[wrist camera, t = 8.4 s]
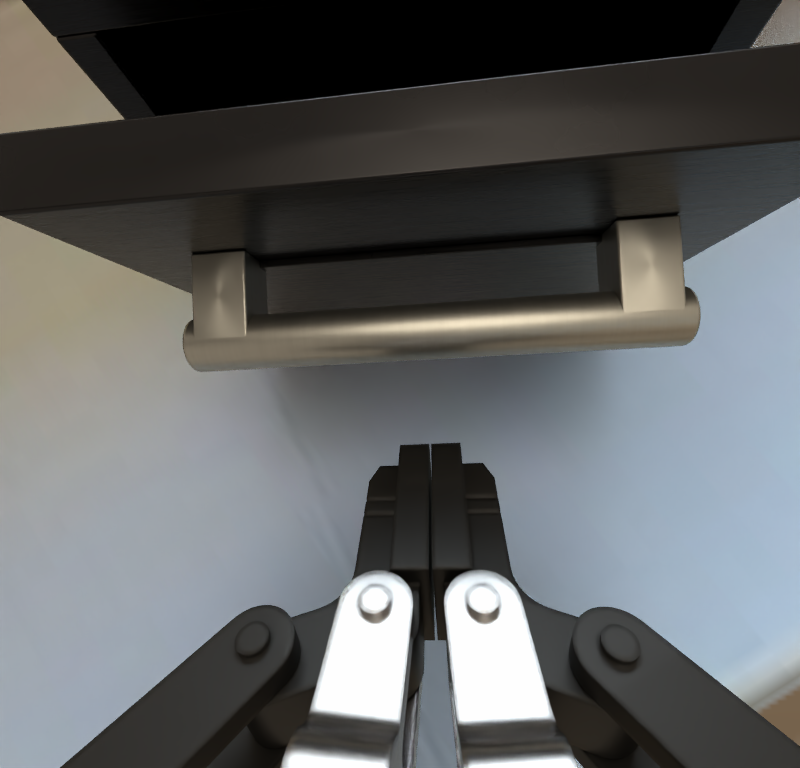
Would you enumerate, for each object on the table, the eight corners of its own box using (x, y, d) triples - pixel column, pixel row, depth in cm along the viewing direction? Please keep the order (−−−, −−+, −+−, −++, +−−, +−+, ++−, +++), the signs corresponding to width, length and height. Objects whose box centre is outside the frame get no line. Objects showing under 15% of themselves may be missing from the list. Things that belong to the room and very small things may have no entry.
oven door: (609, 368, 20) (945, 312, 7) (274, 385, 22) (-3, 367, 8) (603, 272, 21) (920, 26, 7) (271, 295, 22) (-7, 132, 8)
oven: (600, 270, 21) (879, -140, 7) (274, 293, 22) (10, -11, 9) (563, 26, 25) (705, -545, 11) (285, 60, 26) (111, -405, 13)
